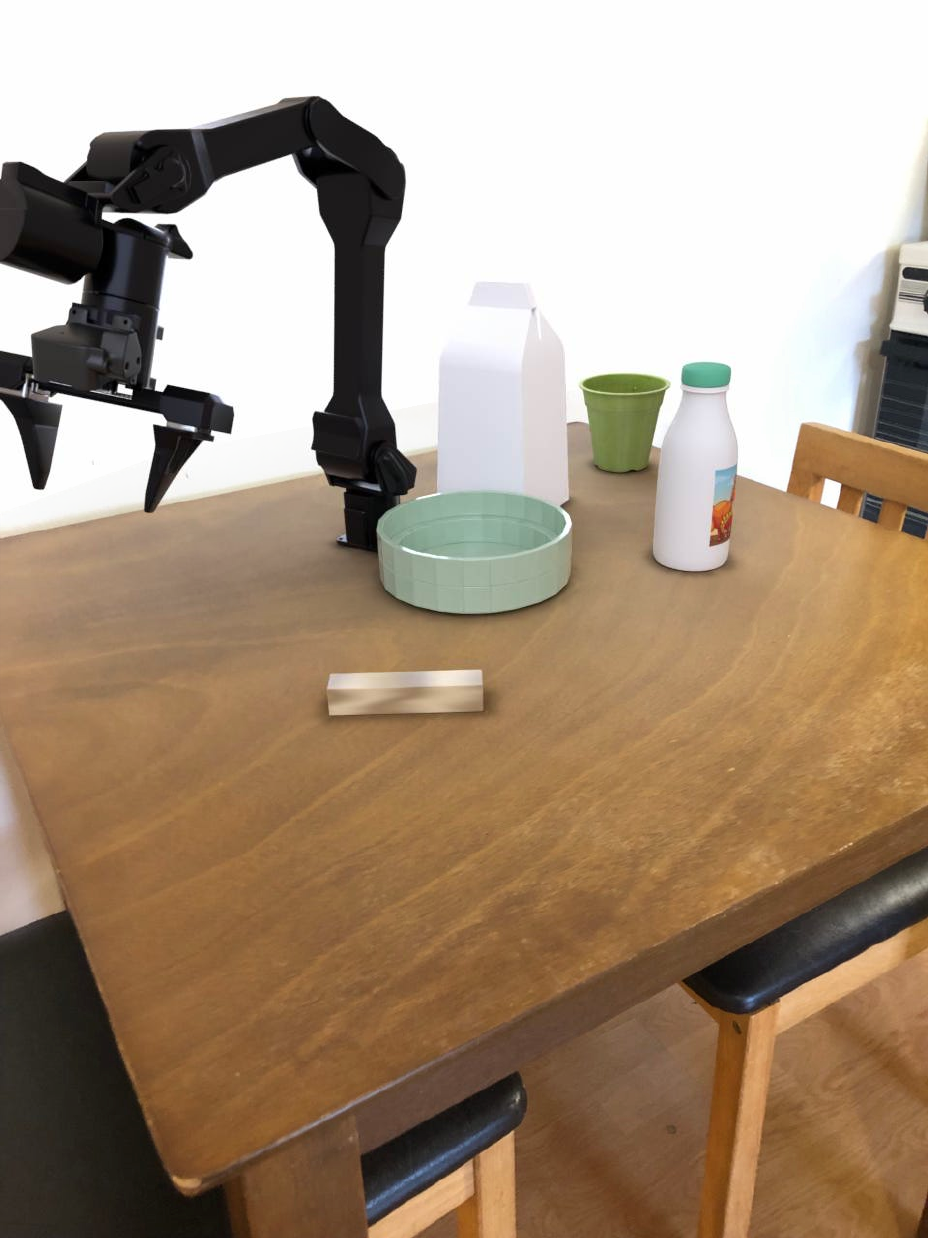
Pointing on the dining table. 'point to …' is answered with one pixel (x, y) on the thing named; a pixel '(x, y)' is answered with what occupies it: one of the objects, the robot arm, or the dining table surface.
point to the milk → (503, 398)
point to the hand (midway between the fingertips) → (93, 500)
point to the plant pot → (623, 417)
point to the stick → (405, 692)
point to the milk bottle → (697, 474)
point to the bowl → (474, 551)
